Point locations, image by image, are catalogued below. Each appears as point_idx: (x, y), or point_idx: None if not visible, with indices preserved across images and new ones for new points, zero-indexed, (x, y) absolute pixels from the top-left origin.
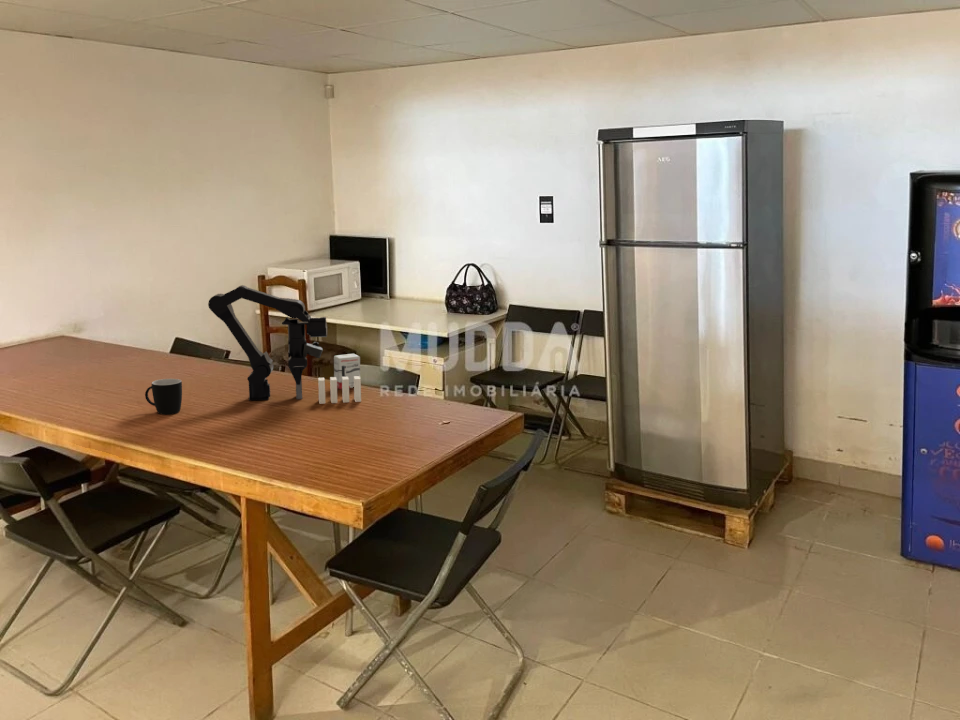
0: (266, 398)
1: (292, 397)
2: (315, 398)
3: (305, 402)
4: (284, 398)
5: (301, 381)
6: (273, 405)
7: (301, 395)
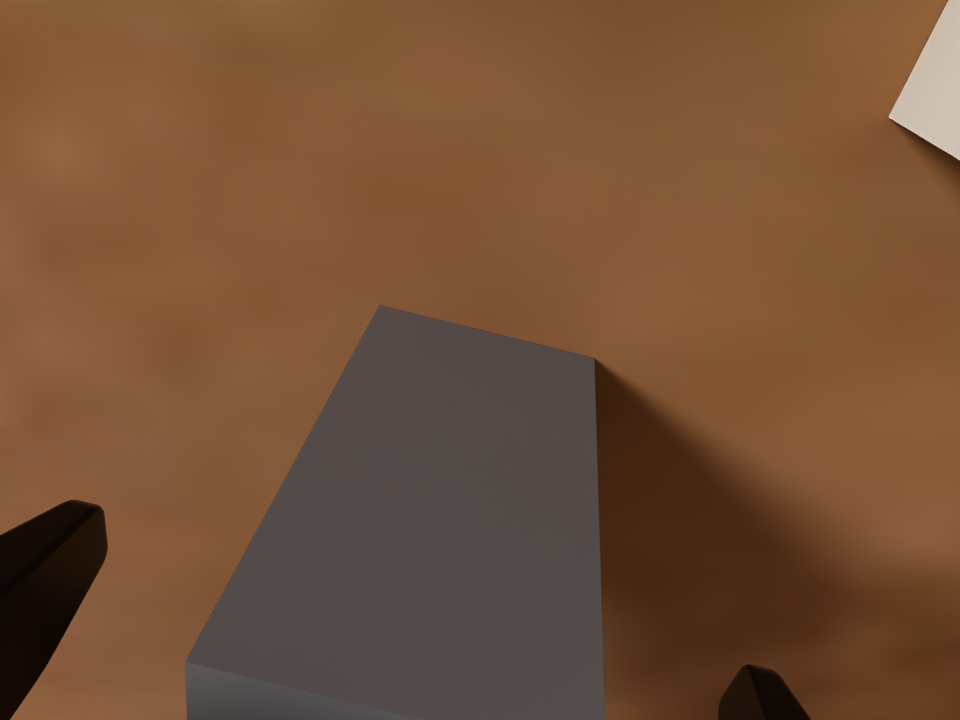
0: None
1: None
2: (676, 137)
3: (854, 377)
4: None
5: (597, 620)
6: None
7: (592, 404)
